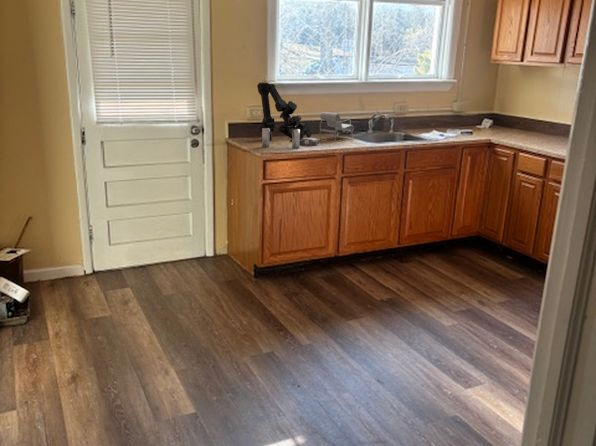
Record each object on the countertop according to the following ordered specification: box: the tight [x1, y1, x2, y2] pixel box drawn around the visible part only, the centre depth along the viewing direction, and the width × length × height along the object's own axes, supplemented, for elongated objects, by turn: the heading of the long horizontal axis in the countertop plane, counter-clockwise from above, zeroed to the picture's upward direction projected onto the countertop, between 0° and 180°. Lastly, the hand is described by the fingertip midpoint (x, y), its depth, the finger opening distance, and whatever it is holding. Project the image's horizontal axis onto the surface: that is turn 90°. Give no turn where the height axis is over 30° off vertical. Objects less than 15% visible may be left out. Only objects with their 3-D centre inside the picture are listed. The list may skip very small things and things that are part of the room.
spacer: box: [261, 128, 270, 149], centre depth 374 cm, size 5×5×12 cm
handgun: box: [300, 121, 312, 140], centre depth 412 cm, size 2×17×12 cm, turn 149°
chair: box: [319, 111, 355, 143], centre depth 415 cm, size 13×25×20 cm, turn 142°
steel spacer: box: [291, 129, 300, 150], centre depth 374 cm, size 5×5×12 cm
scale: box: [299, 137, 321, 147], centre depth 392 cm, size 12×15×4 cm
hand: (297, 138), depth 373 cm, fingers open, 8 cm apart
